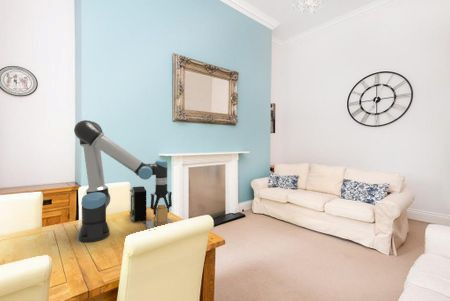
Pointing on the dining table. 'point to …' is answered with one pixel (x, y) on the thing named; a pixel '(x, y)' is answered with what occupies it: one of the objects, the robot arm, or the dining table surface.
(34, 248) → the dining table surface
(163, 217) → the cube with dome knob
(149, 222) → the plate
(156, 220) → the amber glass cylinder
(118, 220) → the dining table surface
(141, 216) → the electrical component
